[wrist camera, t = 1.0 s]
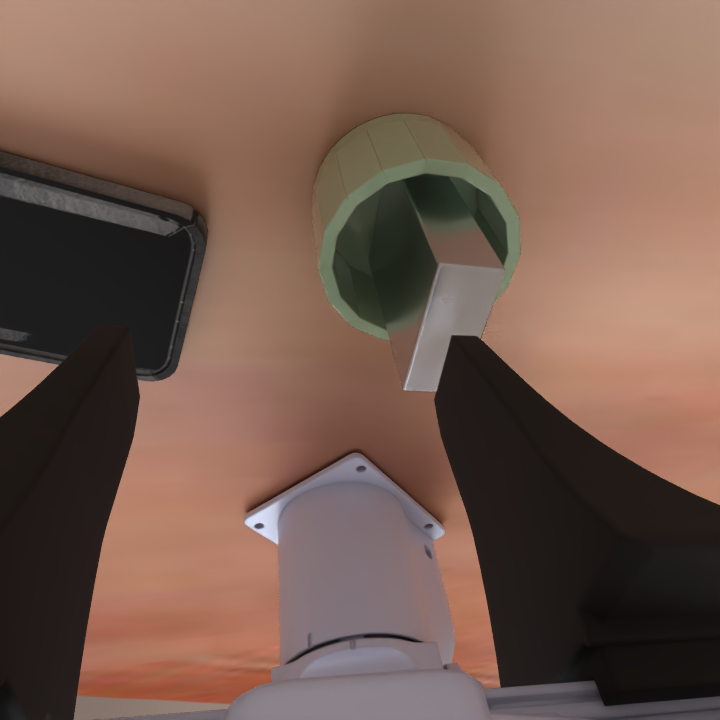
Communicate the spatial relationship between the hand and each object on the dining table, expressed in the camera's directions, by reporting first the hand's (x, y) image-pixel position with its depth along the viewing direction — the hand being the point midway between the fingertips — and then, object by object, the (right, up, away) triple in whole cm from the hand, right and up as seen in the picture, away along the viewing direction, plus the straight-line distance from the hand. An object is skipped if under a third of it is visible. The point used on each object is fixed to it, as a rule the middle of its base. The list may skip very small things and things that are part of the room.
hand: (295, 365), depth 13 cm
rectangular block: (+3, +6, +8) cm, 10 cm away
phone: (-12, +4, +8) cm, 15 cm away
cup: (+3, +6, +9) cm, 11 cm away
